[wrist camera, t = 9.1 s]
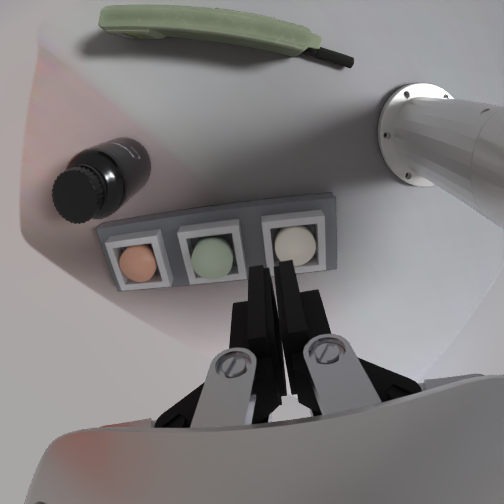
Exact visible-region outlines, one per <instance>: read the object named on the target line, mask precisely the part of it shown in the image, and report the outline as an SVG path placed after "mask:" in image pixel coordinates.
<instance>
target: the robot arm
mask: <svg viewBox="0 0 504 504" xmlns="http://www.w3.org/2000/svg"><path fill="white" fill-rule="evenodd" d="M403 93H405V96H404V95H403ZM384 133H386V136H385V137H384V136H383V135H384ZM378 142H379V148H380V151H381V153H382V156H383V158H384V160H385V162H386V164H387V166H388V167H389V168H390V169H391V170H392V172H393V173H394V174H395V175H397V176H398V177H399V178H400V179H402V180H403V181H405V182H407V183H409V184H412V185H414V186H419V187H431V186H435V185H437V186H439V187H440V188H442V189H443V190H445V191H447V192H448V193H450V194H451V195H453V196H455V197H456V198H458V199H459V200H461V201H462V202H464V203H465V204H467V205H468V206H470V207H471V208H473V209H474V210H476V211H477V212H479V213H480V214H482V215H483V216H485V217H486V218H487V219H489V220H491V221H492V222H493V223H495V224H496V225H498V226H500V227H501V228H503V229H504V107H502V106H496V105H491V104H485V103H479V102H473V101H466V100H459V99H454V98H453V97H452V96H451V95H450V94H449V93H448V92H446V91H445V90H444V89H442V88H440V87H438V86H436V85H433V84H428V83H413V84H408V85H406V86H403V87H401V88H400V89H398V90H397V91H395V92H394V93H393V94H392V95H391V96H390V97H389V99H388V100H387V102H386V103H385V105H384V107H383V109H382V111H381V114H380V117H379V123H378ZM406 173H407V174H406ZM405 174H406V176H405ZM274 276H275V285H276V295H277V304H278V311H277V306H276V301H275V295H274V290H273V285H272V279H271V274H270V269H269V267H268V268H264V266H263V265H257V266H251V267H249V274H248V301H244V302H237V303H233V308H232V320H231V332H230V344H229V349H227V350H224V351H222V352H221V353H219V354H218V355H217V356H216V357H215V358H214V359H213V361H212V363H211V365H210V368H209V371H208V374H207V377H206V380H205V382H204V383H203V384H202V385H200V386H199V387H198V388H197V389H195V390H194V391H192V392H191V393H190V394H188V395H187V396H186V397H184V398H183V399H182V400H181V401H179V402H178V403H176V404H175V405H174V406H172V407H171V408H170V409H168V410H167V411H166V412H164V413H163V414H162V415H161V416H160V417H159V418H158V419H157V420H155V421H153V420H152V419H151V418H149V419H143V420H138V421H132V422H126V423H120V424H113V425H106V426H102V427H99V428H90V429H82V430H78V431H75V432H70V433H68V434H65V435H62V436H60V437H58V438H57V439H55V440H54V441H53V442H52V443H51V444H50V445H49V446H48V448H47V449H46V451H45V452H44V454H43V456H42V458H41V460H40V462H39V464H38V467H37V469H36V471H35V473H34V476H33V479H32V482H31V484H30V487H29V490H28V493H27V496H26V499H25V503H24V504H504V375H486V376H485V375H482V374H470V375H463V376H455V377H447V378H439V379H428V380H424V383H421V384H417V383H416V382H415V381H413V380H411V379H409V378H407V377H404V376H402V375H399V374H397V373H394V372H392V371H389V370H387V369H384V368H382V367H379V366H377V365H375V364H372V363H370V362H367V361H365V360H363V359H360V358H358V357H357V356H356V354H355V352H354V351H353V349H352V347H351V345H350V343H349V342H348V341H347V340H346V339H345V338H343V337H342V336H339V335H336V334H331V331H330V328H329V324H328V321H327V317H326V314H325V310H324V307H323V303H322V300H321V297H320V293H319V290H312V291H306V292H299V287H298V283H297V278H296V273H295V269H294V264H293V260H287V261H281V262H279V266H274ZM278 314H279V317H278ZM282 345H283V348H282ZM283 350H284V356H285V361H286V366H287V372H288V377H289V383H290V388H291V394H292V395H294V394H297V395H298V401H299V403H301V404H303V405H304V406H306V407H308V408H310V413H311V417H307V418H300V419H293V420H286V421H278V422H272V412H273V411H274V410H275V409H276V408H277V407H278V406H279V405H282V400H281V396H286V395H287V390H286V379H285V369H284V359H283Z"/></svg>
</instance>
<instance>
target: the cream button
mask: <svg viewBox="0 0 504 504" xmlns="http://www.w3.org/2000/svg"><path fill="white" fill-rule="evenodd" d="M274 245H275V251H276V255H277V257H278V258H279V260H280V261H287V260H293V264H294V266H299V265H302V264H305V263H307V262H308V261H309V260H310V259H311V258H312V257H313V255H314V253H315V250H316V243H315V240H314V237H313V235H312V233H311V231H310V229H309V228H308V227H307V226H305V225H299V226H289V227H281V228H280V229H279V230H278V231H277V233H276V235H275V238H274Z"/></svg>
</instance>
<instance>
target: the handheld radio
mask: <svg viewBox="0 0 504 504" xmlns="http://www.w3.org/2000/svg"><path fill="white" fill-rule="evenodd" d="M98 25H99V26H100V27H101V28H102V29H105V31H106V32H108V33H110V34H114V35H118V36H121V37H125V38H144V39H163V38H164V37H177V38H188V39H197V40H206V41H213V42H220V43H227V44H233V45H239V46H245V47H250V48H255V49H260V50H265V51H270V52H274V53H279V54H283V55H287V56H292V57H295V56H297V55H299V54H300V53H301V54H305V55H311V56H314V57H316V58H319V59H322V60H326V61H329V62H332V63H335V64H339V65H342V66H345V67H348V68H351V67H352V66H353V64H354V58H353V57H350V56H347V55H344V54H341V53H338V52H334V51H331V50H328V49H325V48H321V47H320V45H321V41H322V38H323V37H321V36H318V35H316V34H313V33H312V32H311V31H310V29H308V28H306V27H304V26H301V25H297V24H293V23H289V22H285V21H281V20H276V19H275V18H273V17H267V16H263V15H257V14H252V13H246V12H240V11H234V10H227V9H219V8H215V9H212V8H204V7H191V6H175V5H115V6H106V7H104V8H103V9H101V13H100V18H99V23H98Z"/></svg>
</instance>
